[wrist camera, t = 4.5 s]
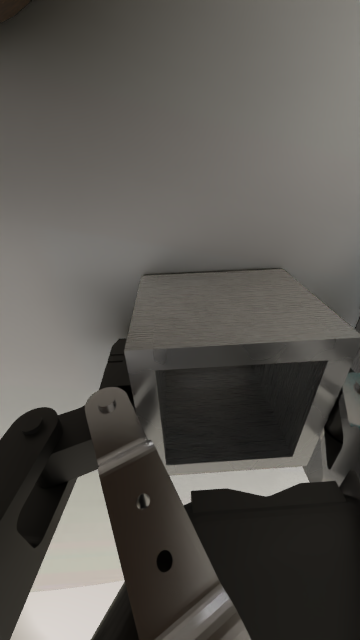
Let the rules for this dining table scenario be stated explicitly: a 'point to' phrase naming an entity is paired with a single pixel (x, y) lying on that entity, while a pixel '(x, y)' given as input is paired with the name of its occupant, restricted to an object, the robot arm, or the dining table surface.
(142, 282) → the square metal tube
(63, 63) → the dining table surface
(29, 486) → the robot arm
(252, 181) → the dining table surface
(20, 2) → the plant pot
